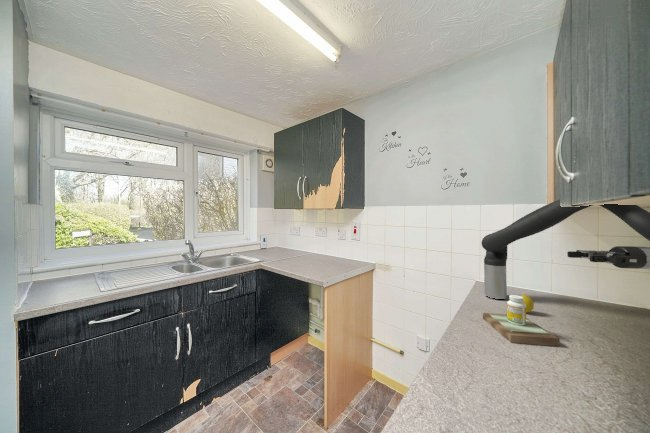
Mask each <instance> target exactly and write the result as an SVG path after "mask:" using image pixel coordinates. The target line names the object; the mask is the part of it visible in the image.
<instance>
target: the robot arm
mask: <svg viewBox="0 0 650 433" xmlns="http://www.w3.org/2000/svg"><path fill="white" fill-rule="evenodd" d="M560 199H561V198H559V199H558V200H555V201H553V202H550V203H548V204H545V205H543V206H542V207H539V208H537V209H535V210H532V211H531V212H529V213H527V214H525V215H524V216H522V217H520V218H519V219H517V220H515V221H514V222H512V223H511V224H509V225H507V226H506V227H504V228H502V229H499V230H497V231H495V232H492V233H489V234H486V235H485V236H484V237H483V238H482V240H481V246H482V248H483V250H485V256H484V258H483V267H484V268H483V271H484V272H483V273H484V274H483V275H484V279H483V280H484V281H483V282H484V284H483V285H484V286H483V289H484V290H483V291H484V296H485V295H486V296H488V297H491V298H495V299H506V298H507V299H508V295H507V282H508V281H507V261H508V246H509V245H511V244H512V243H514V242H515V241H516V242H517V241H518V240H520V239H524V238H527V237H530V236H533V235H536V234H539V233H541V232H544V231H546V230H548V229H550V228H552V227H554V226H556V225H557V224H560V223H562V222H563V221H565V220H566V219H568V218H569V217H571V216H572V215H575V214H576V213H578V212H580V211H582V210H585V209H587V208H590V207H591V206H593V205H589V206H580V207H561V206H560ZM599 206H600V207H601V208H603V209H606V210H607V211H609V212H610V213H612V214H613V215H615V216H616V217H617V218H619V219H620V220H621V221H623V222H624V223H625V224H627V225H628V226H629V227H630V228H631V229H632V230H634V232H636V233H638V234H639V235H640V236H642V237H643V238H645V239H646V240H647V241H649V242H650V211H648V210H646V209H644V208H643V207H641V206H640V205H637V204H636V205H618V204H604V205H599ZM566 253H567V258H571V259H572V258H575V259H577V258H578V259H588V260H589V262H591V263H606V264H610V265H613V266H614V267H616V268H618V269H619V268H620V269H633V270H634V269H635V270H637V269H639V270H649V269H650V247H649V246H639V245H638V246H635V245H634V246H633V245H632V246H631V245H629V246H626V245H625V246H624V245H623V246H622V245H617V246H613V247H611V248H610V249H609V250H591V249H589V250H581V249H576V250H575V251H570V250H569V251H567V252H566ZM486 296H485V297H486ZM488 297H487V298H488ZM495 299H494V300H495ZM507 299H506V300H507Z"/></svg>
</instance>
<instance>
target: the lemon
mask: <svg viewBox="0 0 650 433" xmlns="http://www.w3.org/2000/svg"><path fill="white" fill-rule="evenodd" d="M520 296H521V297H523V300H524V301H523V303H524V304H525V305H526V314H527V313H530V312H532V311H533V310H534V309H535V305H534V304H535V303H534V300H533V299H532V298H531V297H530V296H529V295H527V294H522V295H520Z"/></svg>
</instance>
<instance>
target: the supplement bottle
mask: <svg viewBox="0 0 650 433" xmlns="http://www.w3.org/2000/svg"><path fill="white" fill-rule="evenodd" d="M508 299H509V300H508V301H507V302H506V312H507V313H506V314H507V320H508V321H509V322H510V323H512V324H515V325H521V326H523V325H526V318H527V313H526V305H525V304H524V303H523V301H524V300H523V297H521V295H516V294H509V298H508Z"/></svg>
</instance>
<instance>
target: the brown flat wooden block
mask: <svg viewBox="0 0 650 433" xmlns="http://www.w3.org/2000/svg"><path fill="white" fill-rule="evenodd" d="M482 320H484V321H485V322H486V323H487V324H489V325H490V326H491V327H492V328H493V329H494V330H496V332H498V333H499V334H500V335H502V337H503V338H505V340H507V341H508V342H510V344H511V343H512V344H513V343H514V344H525V345H527V344H528V345H537V346H538V345H539V346H551V347H560V338H559V337H557V336H556V335H555V334H553V333H551V331H548V330H547V329H545V328H543V327H541V326H540V325H538V324H537V323H535V322H534V321H532V320H530V319H529V318H527V317H526V325H523V326H521V325H515V324H512V323H510V322H509V321H508V320H507V313H496V312H495V313H493V312H483V313H482Z"/></svg>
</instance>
